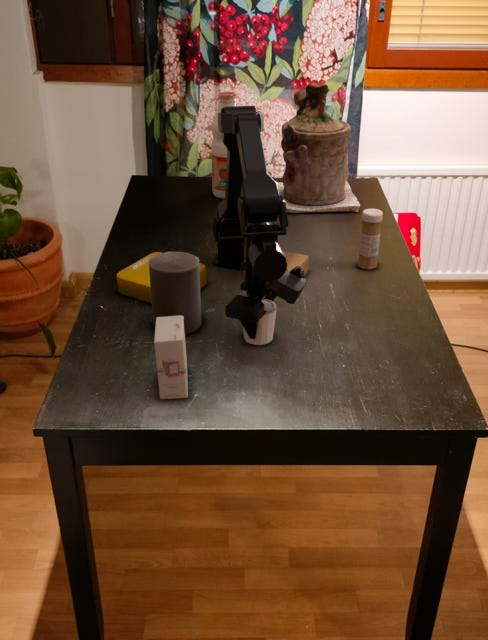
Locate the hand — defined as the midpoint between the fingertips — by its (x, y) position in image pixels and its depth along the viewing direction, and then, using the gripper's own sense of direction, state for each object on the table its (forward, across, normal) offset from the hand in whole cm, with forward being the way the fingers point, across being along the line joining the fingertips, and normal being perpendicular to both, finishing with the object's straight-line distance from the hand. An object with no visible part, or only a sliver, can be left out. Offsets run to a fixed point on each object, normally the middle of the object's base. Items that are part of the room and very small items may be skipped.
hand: (258, 330), depth 138 cm
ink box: (+2, -21, +8) cm, 22 cm away
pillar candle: (+2, -1, +17) cm, 17 cm away
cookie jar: (+2, +78, +14) cm, 79 cm away
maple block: (+2, +27, +5) cm, 28 cm away
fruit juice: (+2, +72, +37) cm, 81 cm away
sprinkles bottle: (+2, +40, -12) cm, 42 cm away
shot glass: (+2, 0, 0) cm, 2 cm away
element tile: (+2, +12, +27) cm, 30 cm away
